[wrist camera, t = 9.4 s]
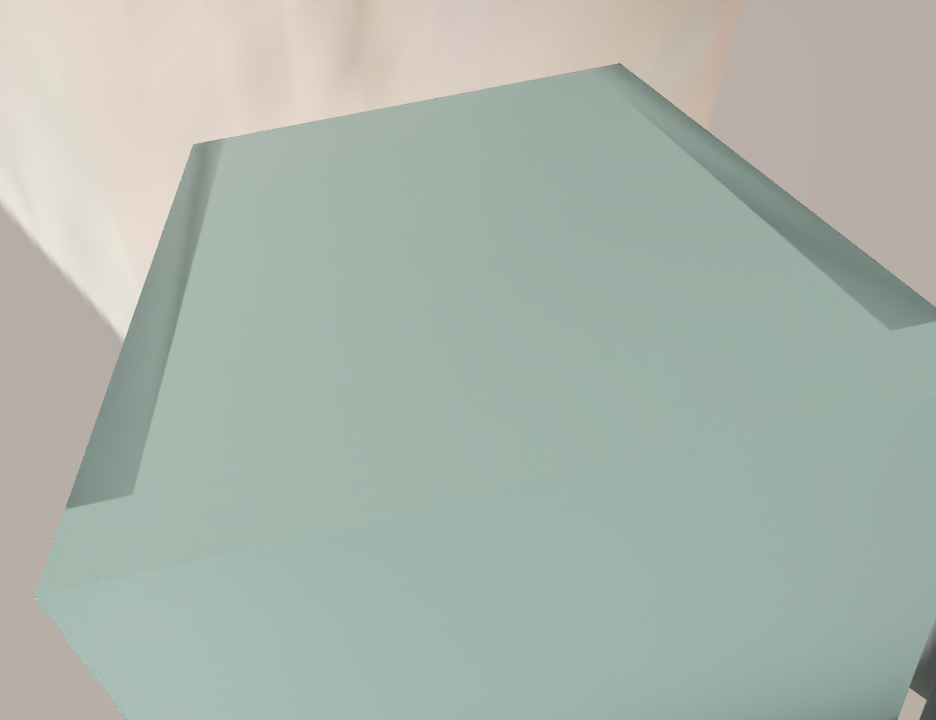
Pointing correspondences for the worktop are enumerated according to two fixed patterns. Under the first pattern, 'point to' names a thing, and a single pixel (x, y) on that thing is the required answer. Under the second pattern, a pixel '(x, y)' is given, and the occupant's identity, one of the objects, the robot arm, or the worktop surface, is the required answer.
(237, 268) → the sage green upright block
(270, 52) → the worktop surface
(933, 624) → the robot arm
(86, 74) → the worktop surface
